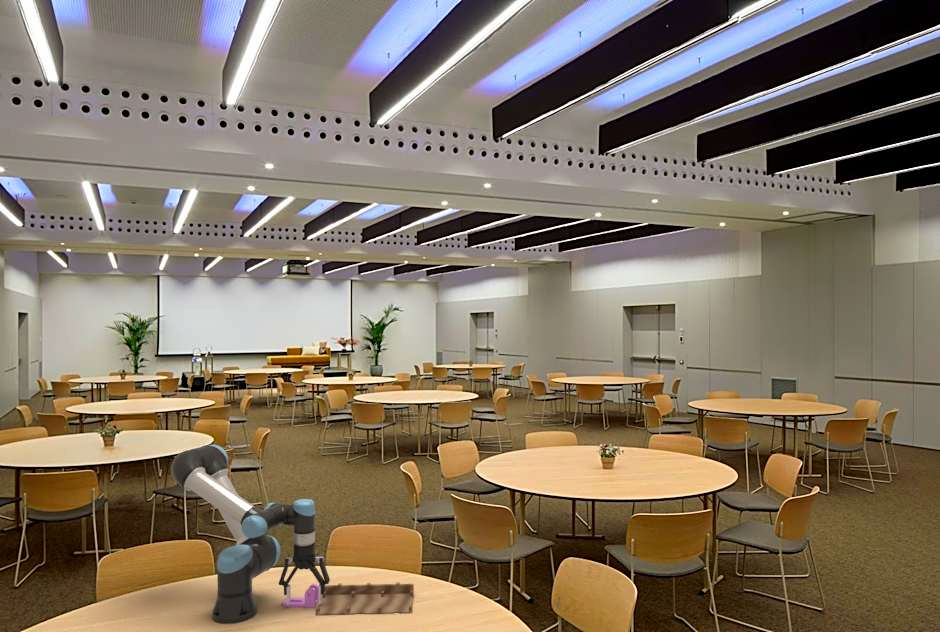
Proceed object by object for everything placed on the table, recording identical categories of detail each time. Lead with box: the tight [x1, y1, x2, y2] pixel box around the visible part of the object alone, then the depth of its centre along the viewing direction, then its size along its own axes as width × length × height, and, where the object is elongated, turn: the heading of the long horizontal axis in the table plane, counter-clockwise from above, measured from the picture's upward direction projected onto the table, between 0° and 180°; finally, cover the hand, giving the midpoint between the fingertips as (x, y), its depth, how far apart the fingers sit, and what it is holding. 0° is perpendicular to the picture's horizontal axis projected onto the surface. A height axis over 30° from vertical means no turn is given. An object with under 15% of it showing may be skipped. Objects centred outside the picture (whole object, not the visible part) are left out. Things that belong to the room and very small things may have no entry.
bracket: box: [281, 583, 319, 608], centre depth 243 cm, size 13×6×7 cm, turn 86°
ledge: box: [315, 581, 415, 617], centre depth 242 cm, size 34×17×5 cm, turn 92°
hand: (304, 603), depth 240 cm, fingers open, 11 cm apart
